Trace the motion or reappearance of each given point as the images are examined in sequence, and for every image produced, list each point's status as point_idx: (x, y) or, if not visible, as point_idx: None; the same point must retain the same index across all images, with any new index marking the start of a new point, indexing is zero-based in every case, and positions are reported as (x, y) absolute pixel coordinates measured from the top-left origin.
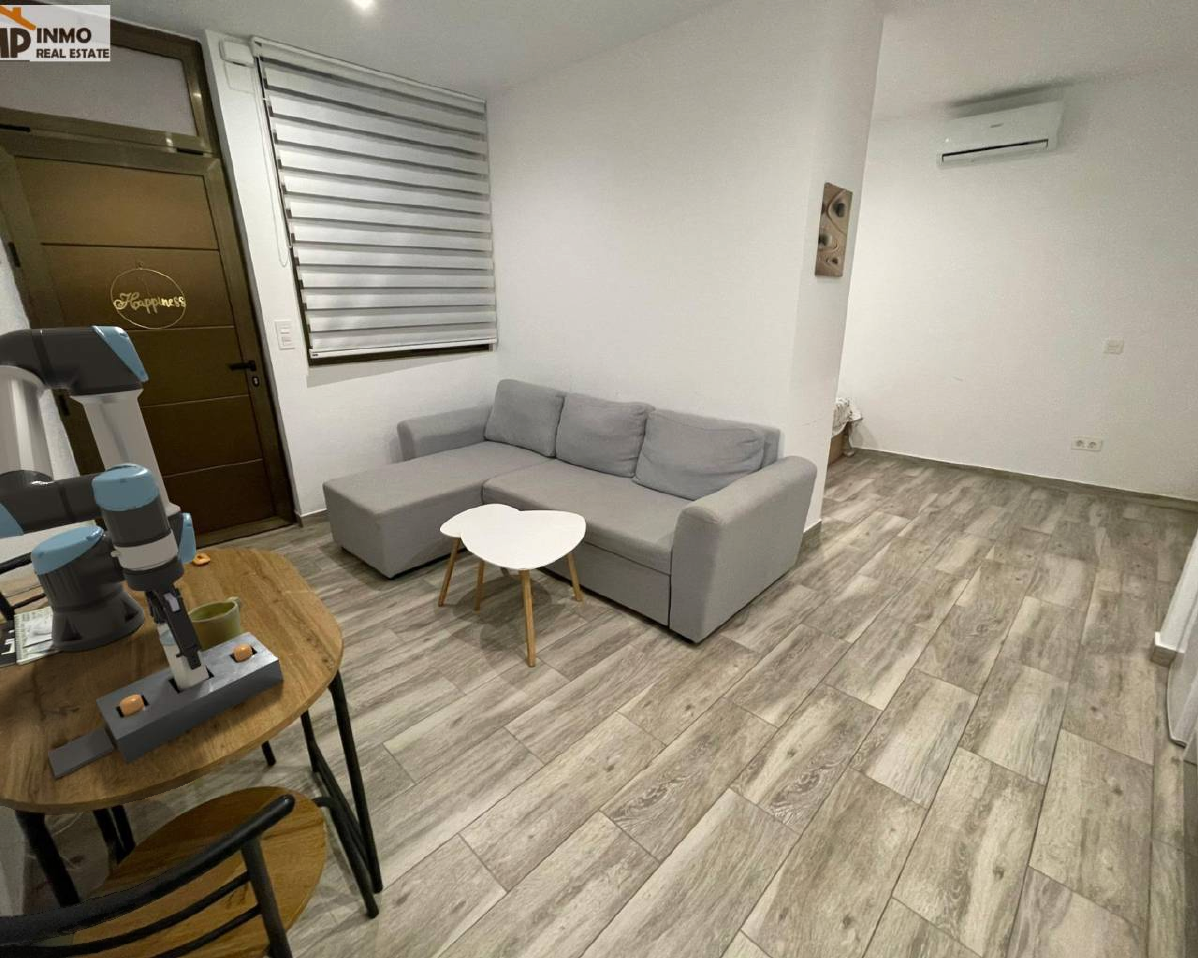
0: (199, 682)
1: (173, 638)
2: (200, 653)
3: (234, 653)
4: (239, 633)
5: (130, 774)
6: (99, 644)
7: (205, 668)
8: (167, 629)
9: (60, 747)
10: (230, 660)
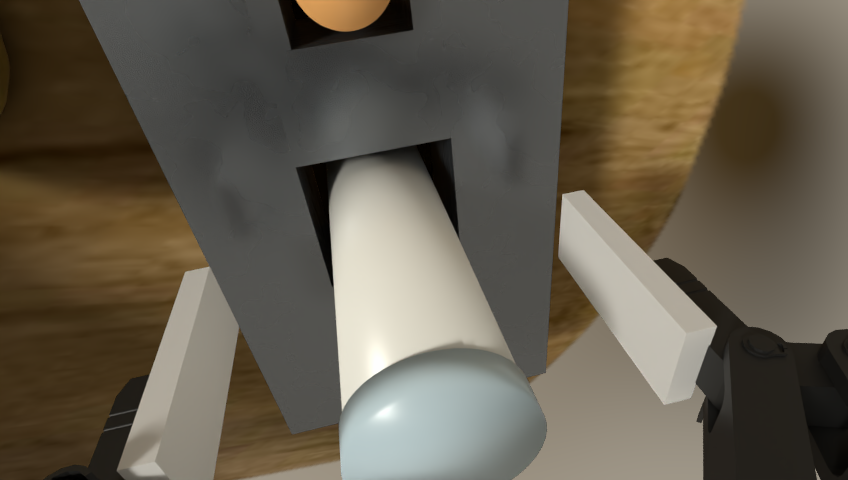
0: (437, 192)
1: (513, 456)
2: (677, 290)
3: (360, 27)
4: None
5: (559, 302)
6: None
7: (613, 222)
8: (196, 448)
9: None
10: (358, 51)
